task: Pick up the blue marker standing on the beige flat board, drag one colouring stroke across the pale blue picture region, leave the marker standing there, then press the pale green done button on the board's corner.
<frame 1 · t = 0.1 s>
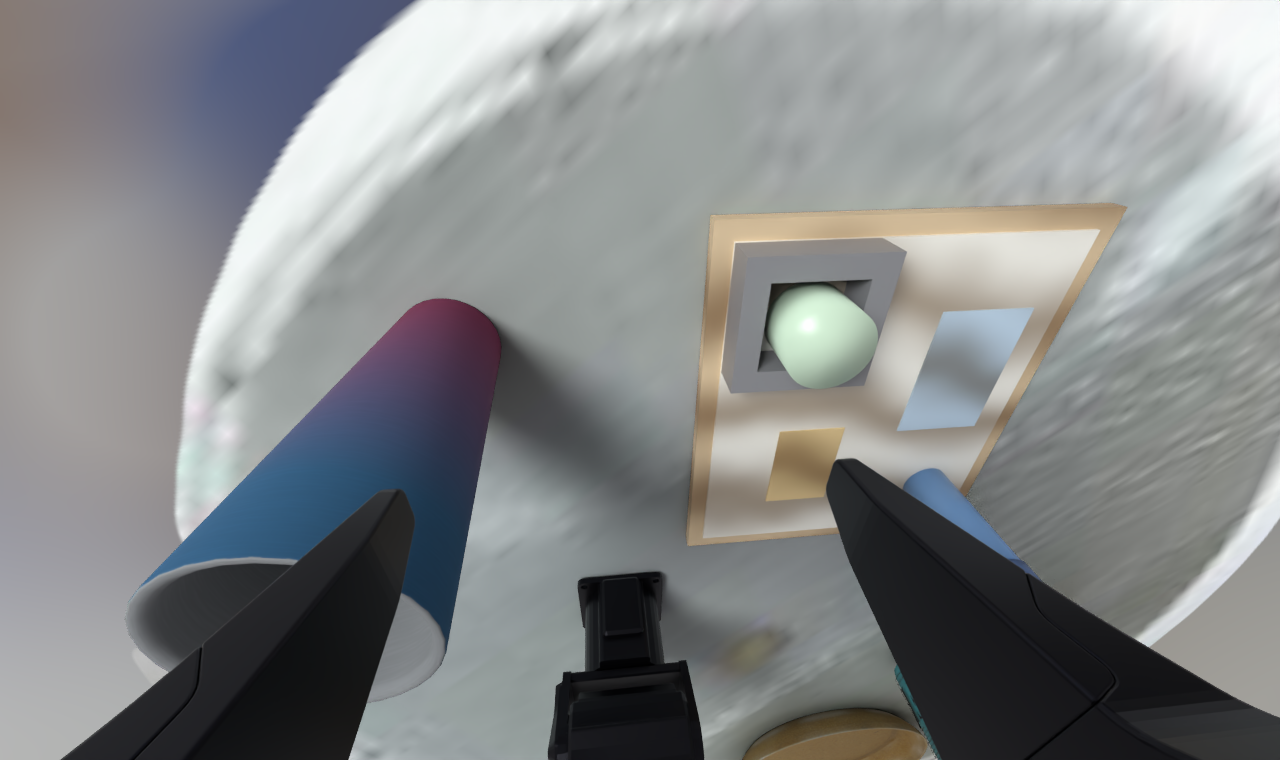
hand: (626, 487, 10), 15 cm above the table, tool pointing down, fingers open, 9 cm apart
beige flat board: (856, 403, 28), on the table
plant saucer: (819, 737, 60), on the table
beverage bottle: (914, 646, 48), on the table
done button: (817, 334, 21), point 4 cm above the table, slide at 0.0 cm
cup: (451, 341, 24), on the table
button housing: (796, 309, 23), resting on beige flat board
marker: (923, 483, 32), point 1 cm above the table, touching beige flat board
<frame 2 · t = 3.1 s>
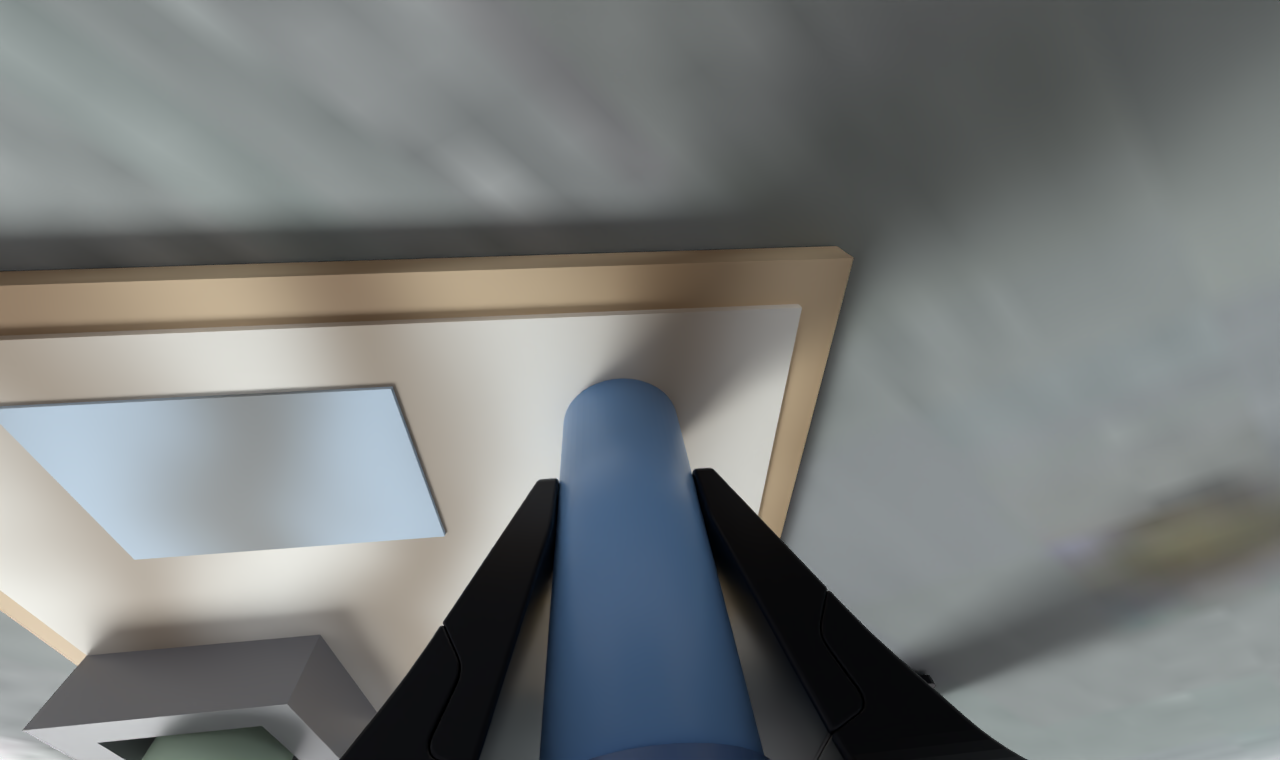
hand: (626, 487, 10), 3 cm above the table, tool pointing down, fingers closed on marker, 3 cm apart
beige flat board: (424, 561, 15), on the table
button housing: (256, 694, 17), resting on beige flat board
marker: (620, 425, 11), point 1 cm above the table, touching beige flat board, gripper
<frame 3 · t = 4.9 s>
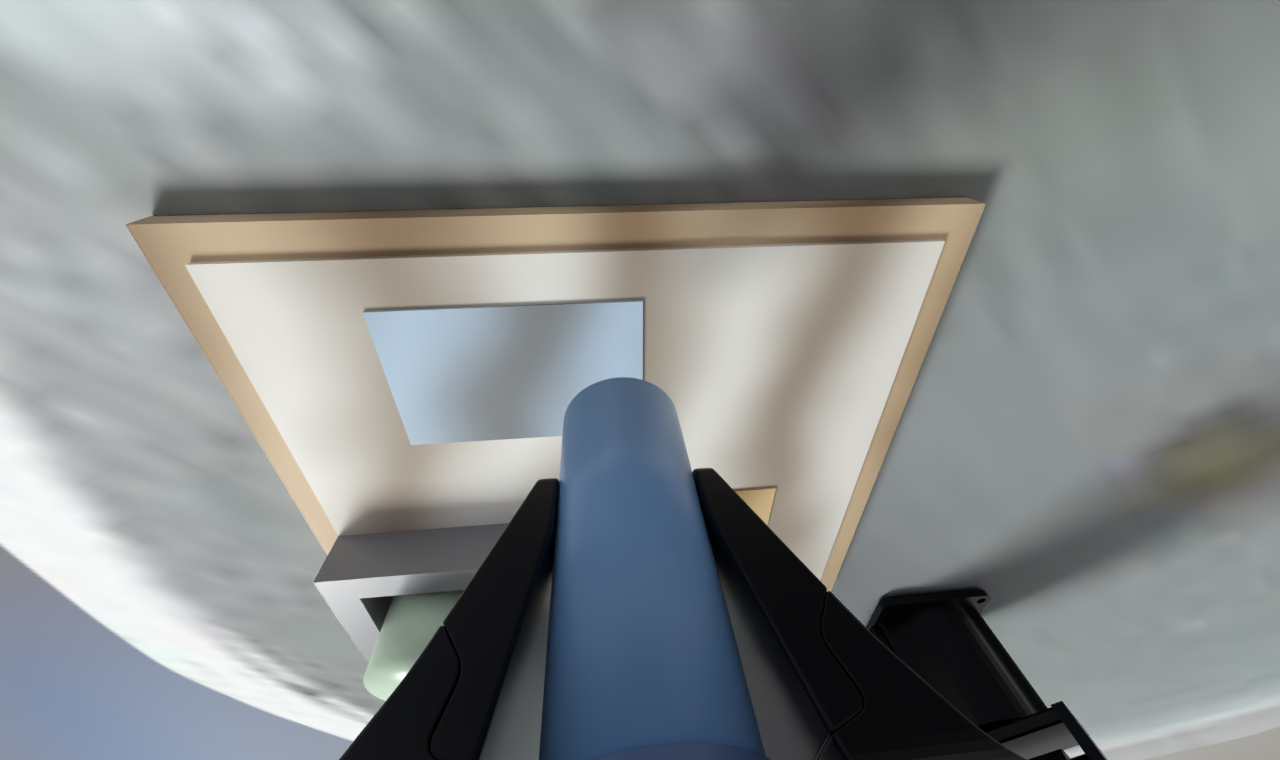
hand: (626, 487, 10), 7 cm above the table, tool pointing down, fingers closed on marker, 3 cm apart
beige flat board: (602, 463, 19), on the table
done button: (433, 640, 18), point 4 cm above the table, slide at 0.0 cm
button housing: (450, 580, 20), resting on beige flat board
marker: (621, 424, 11), point 5 cm above the table, touching gripper
when the fingers open (3 cm above the table, at t = 7.0 s): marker stays where it is, resting on beige flat board.
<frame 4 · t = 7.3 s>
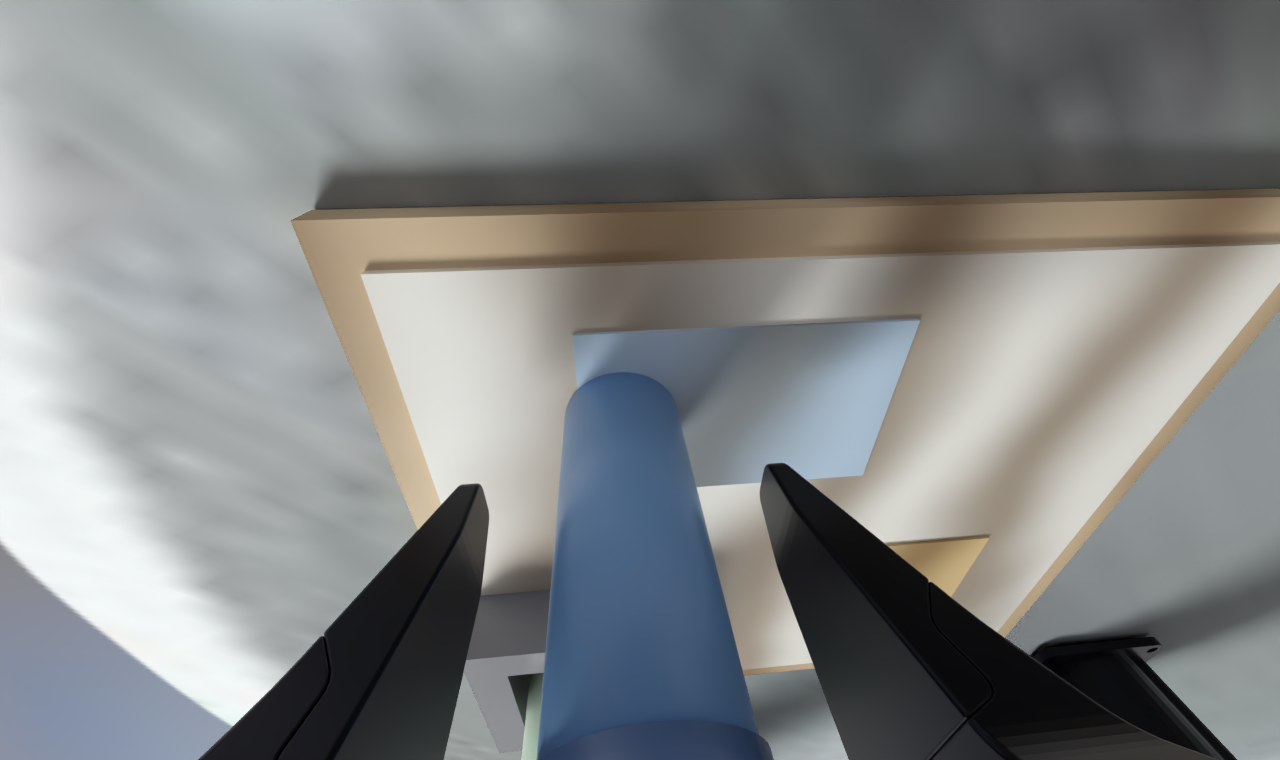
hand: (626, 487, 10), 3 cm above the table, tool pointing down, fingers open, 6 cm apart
beige flat board: (784, 507, 16), on the table
done button: (587, 722, 15), point 4 cm above the table, slide at 0.0 cm
button housing: (587, 641, 17), resting on beige flat board
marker: (621, 419, 11), point 1 cm above the table, touching beige flat board
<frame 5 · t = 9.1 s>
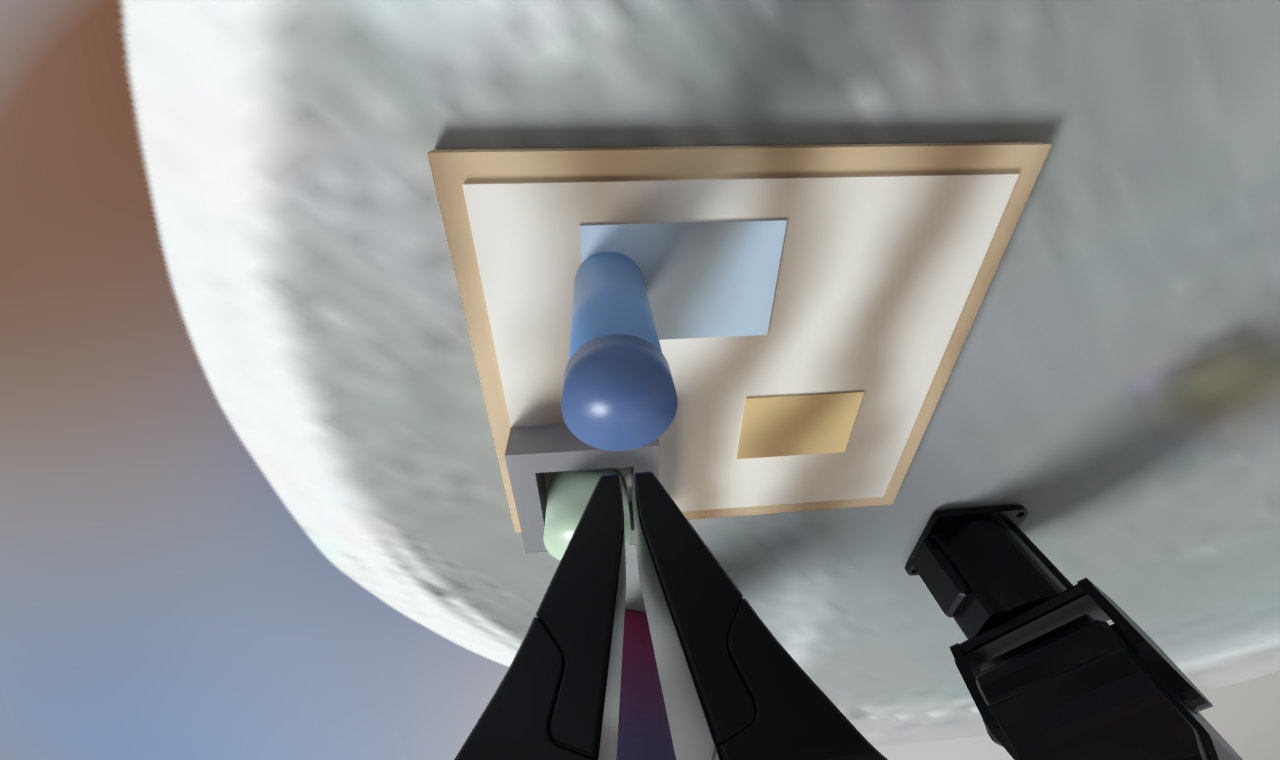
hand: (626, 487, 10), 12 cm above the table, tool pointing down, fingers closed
beige flat board: (723, 370, 23), on the table
done button: (587, 513, 22), point 4 cm above the table, slide at 0.0 cm
cup: (622, 625, 35), on the table
button housing: (588, 474, 25), resting on beige flat board
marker: (609, 285, 19), point 1 cm above the table, touching beige flat board
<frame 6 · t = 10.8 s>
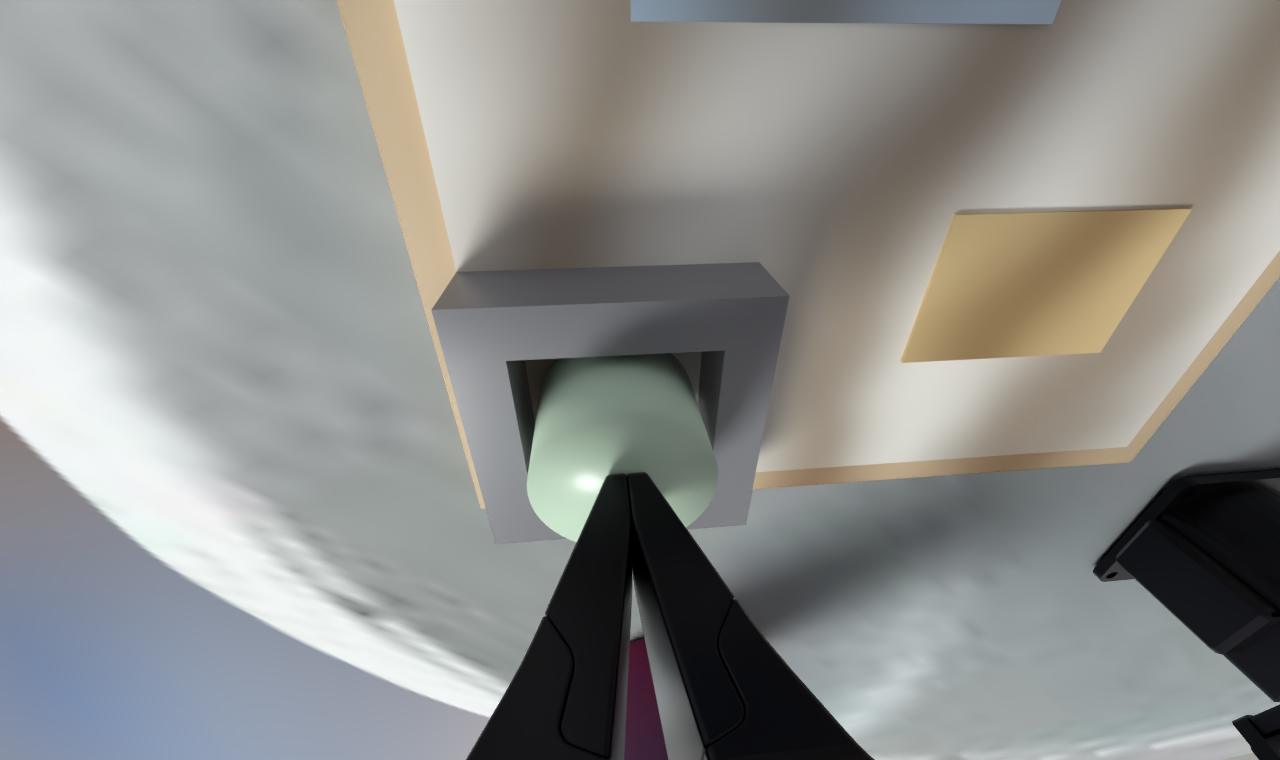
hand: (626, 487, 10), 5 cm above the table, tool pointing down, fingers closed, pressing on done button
beige flat board: (902, 160, 11), on the table
done button: (620, 440, 11), point 3 cm above the table, slide at 0.6 cm, touching gripper
cup: (654, 657, 23), on the table
button housing: (615, 390, 13), resting on beige flat board
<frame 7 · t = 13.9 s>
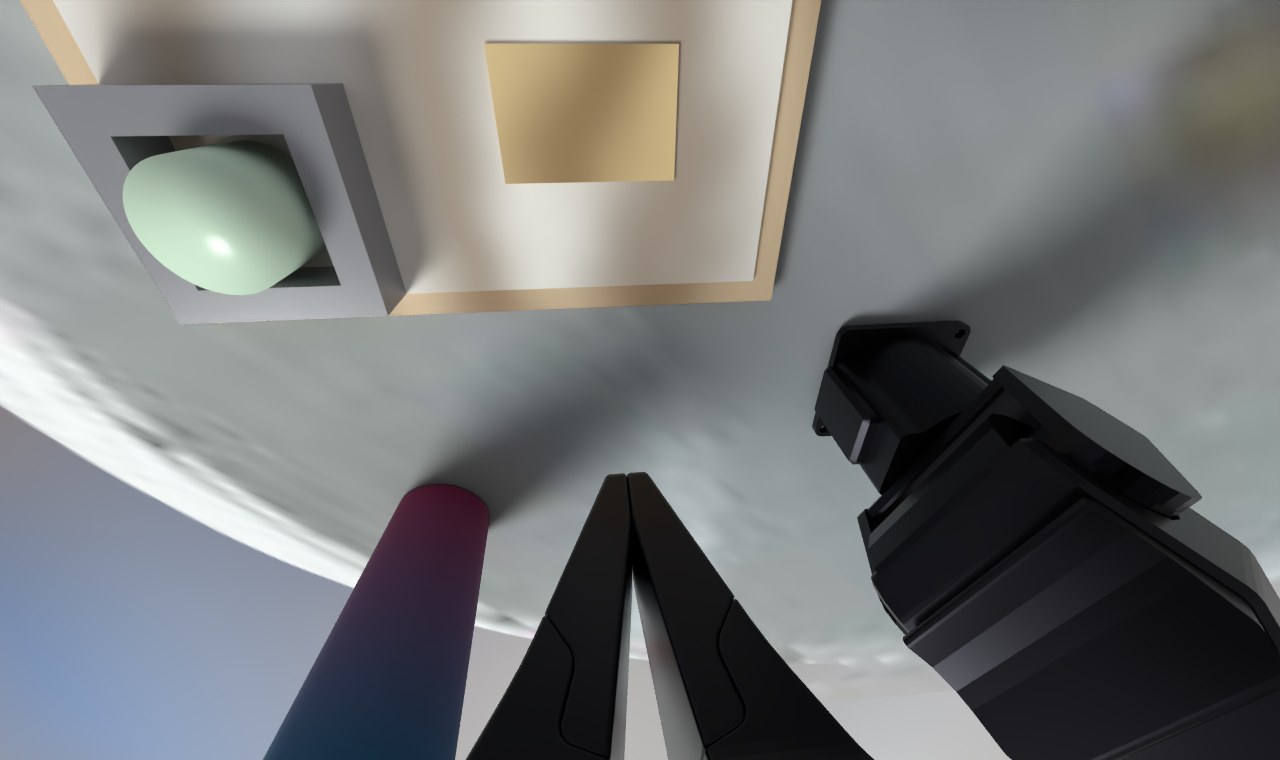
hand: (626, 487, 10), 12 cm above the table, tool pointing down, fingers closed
beige flat board: (451, 5, 14), on the table
done button: (241, 216, 15), point 3 cm above the table, slide at 0.8 cm
cup: (445, 511, 27), on the table
button housing: (273, 203, 16), resting on beige flat board
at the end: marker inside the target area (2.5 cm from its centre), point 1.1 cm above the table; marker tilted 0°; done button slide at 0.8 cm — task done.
